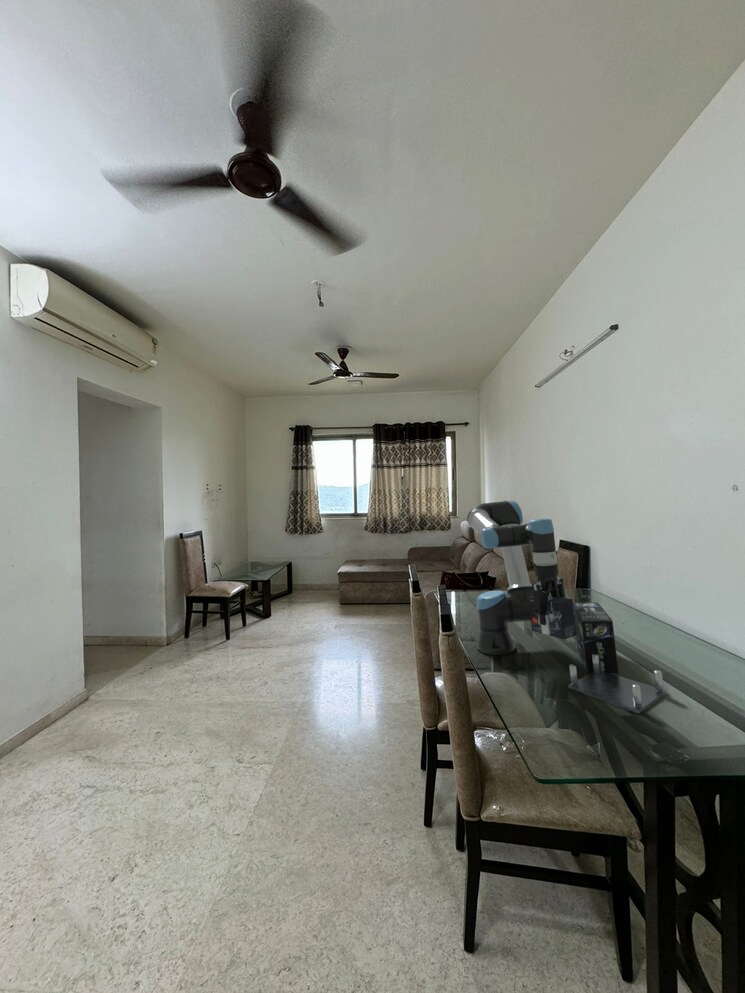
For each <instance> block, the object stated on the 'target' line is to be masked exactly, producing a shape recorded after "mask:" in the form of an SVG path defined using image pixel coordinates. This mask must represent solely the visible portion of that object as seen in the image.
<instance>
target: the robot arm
mask: <svg viewBox="0 0 745 993" xmlns="http://www.w3.org/2000/svg"><path fill="white" fill-rule="evenodd" d="M522 512H523V511H522V509H521V507H520V505H519V504H518V502H516V501H515V500H503V501H492V502H487V503H486V502H483V503H479V504H477V505H475V506H473V507H472V508H471V509H470V510H469V511H468V514H467V516H466V517H467V523H468V526H469V527H470V528H471V529H473V530H474V531H477V532H478V533H479V534H480V541H481V544H482V548H484V549H497V548H499V549H501V552H502V556H503V562H504V566H505V571H506V575H507V580H508V585H509V586H508V587H507V590H506V594H505V592H504V591H502V590H490V591H485V592H484V593H483V592H482V593H481V594H479V595H478V597H477V598H476V609H477V615H478V616H477V617H478V627H479V632H478V637H477V643H476V646H477V647H478V648H477V647H476V648H477V650H478V649H479V650H480V651H481V652H480V651H479V650H478V651H479V652H480V653H483V654H486V655H491V656H501V655H502V656H503V655H506V654H507V655H508V654H511V653H513V652H514V651H515V649H516V646H515V642H514V640H513V639H512V636H511V633H510V631H509V623H510V624H511V623H520V622H521V623H522V622H531V617H530V609H529V600H528V597H532V596H533V599H534V613H535V614H539V617H540V624H541V628H542V633H543V635H546V634H547V635H546V636H549V635H551V634H550V626H549V617H548V615H546V612H547V603H546V601H547V600H548V595H551V596H554V597H562V598H567V597H566V592H565V588H564V587H565V586H564V578H560V577H558V576H559V574H560V572H559V565H558V564H557V563H558V558H557V550H556V549H557V548H556V539H555V531H554V530H555V528H554V526H553V525H554V524H553V520H552V519H550V518H537V519H536V518H535V519H531V520H530V521H529V523H525V524H523V522H524V517H523V513H522ZM527 545H528V546H529V545H531V549H532V550H531V551H532V553H531V554H532V562H533V564H534V566H533V570H534V575H535V577H537V580H536V581H537V582H536V583H531V581H530V577H529V572H528V569H527V563H526V560H525V555H524V552H523V548H522V546H527ZM542 610H543V611H542ZM542 633H541V634H542Z"/></svg>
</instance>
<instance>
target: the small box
mask: <svg viewBox="0 0 745 993" xmlns="http://www.w3.org/2000/svg"><path fill="white" fill-rule="evenodd" d="M528 600H529V609H530V617H531V621H530V624H531V631H532V632H536V633H539V634H543V633H542V628H541V624H540V617H539V614H535V613H534V599H533V596H532V597H528ZM546 603H547V612H546V615H548V617H549V626H550V634H551V635H547V634H545V636H550V637H554V638H558V639H561V640H567V639H569V638H572V637H575V635H577V632H576V625H575V617H574V607H573V603H574V599H572V598H567V597H566V598H562V597H554V596H551V594H550V595H548V600H547V601H546ZM542 611H543V610H542ZM543 635H544V634H543Z"/></svg>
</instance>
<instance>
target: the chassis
mask: <svg viewBox="0 0 745 993" xmlns="http://www.w3.org/2000/svg"><path fill="white" fill-rule="evenodd" d="M592 661H593V670H594V672H592V673H587V674H586V675H585V676H583V677H581V678H578V672H577V665H575V664H569V666H568V668H569V676H570V684H568V689H569V690H571V689H574V690H578V691H581V692H584V693H585V694H587V695H586V696H588V695H589V696H588V697H590V696H591V698H593V697H595V698H594V699H596V698H598V699H597V700H599V699H600V700H599V701H602V702H604V703H608V704H611V705H613V706H615V707H618V708H620V709H624V710H626V711H629V712H631V711H634V712H637V713H640V712H641V711H643V710H644V711H646V710H647V709H648V708H650V707H651V706H652V705H654V704H655V703H656V702H658V701H660V699H662V698H664V697H665V696H667V695H668V690H667V689H664V680H663V673H662V671H661V670H659V669H657V670H653V677H654V686H653V685H650V684H646V683H642V682H640V681H637V680H633V679H629V678H626V677H623V676H621V675H618V674H611V673H607V672H604V671H601V670H600V665H599V656H598V654H595V653H594V654H592ZM574 690H573V691H574ZM585 694H584V695H585ZM644 711H643V712H644ZM634 712H633V713H634ZM637 713H636V714H637ZM641 713H642V712H641ZM641 713H640V714H641Z"/></svg>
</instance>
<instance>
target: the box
mask: <svg viewBox="0 0 745 993" xmlns="http://www.w3.org/2000/svg"><path fill="white" fill-rule="evenodd" d="M573 607H574V617H575V625H576V632H577V635H575V636H574V643H575V649H576V651H577V654H578V656H579V658H580V660H581V662H582V664H583V666H584V669H585V671H586V673H587V674H590V673H592V672H594V670H593V661H592V654H594V653H595V654H598V656H599V665H600V670H601V671H604V672H607V673H611V674H614V675H619V666H618V657H617V648H616V647H617V646H616V640H615V638H616V636H615V630H614V629H615V628H614V621H613V619H612V618H611V616H609V614H608V612H606V610H605V609H604V608H603V607H602V606H601V605H600V603H599V602H595V601H594V602H589V601H588V602H573Z"/></svg>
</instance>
